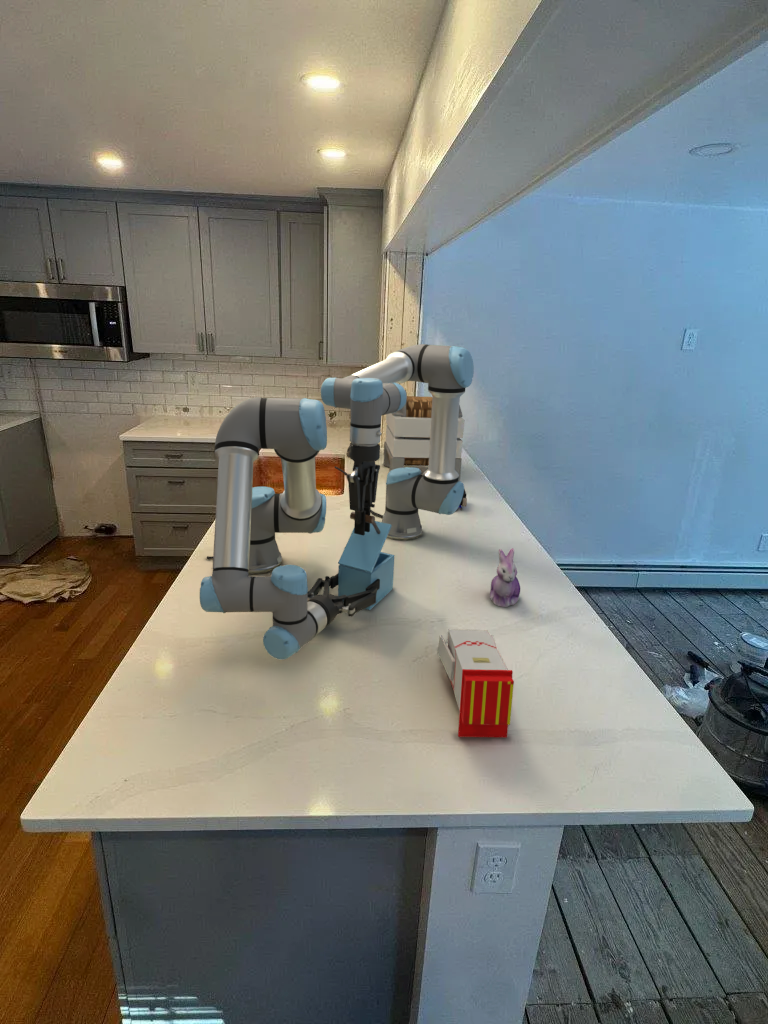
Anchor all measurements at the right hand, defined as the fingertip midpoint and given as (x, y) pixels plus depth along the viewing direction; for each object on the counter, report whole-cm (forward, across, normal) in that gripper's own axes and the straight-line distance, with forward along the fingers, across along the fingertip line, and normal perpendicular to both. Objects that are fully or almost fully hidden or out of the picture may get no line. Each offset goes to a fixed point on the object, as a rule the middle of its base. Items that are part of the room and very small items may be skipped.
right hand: (362, 532), depth 147 cm
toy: (+20, -22, -39) cm, 49 cm away
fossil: (+20, +142, +80) cm, 164 cm away
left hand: (+14, 0, 0) cm, 14 cm away
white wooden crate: (+20, +126, +37) cm, 132 cm away
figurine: (+20, +21, -34) cm, 45 cm away
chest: (+20, +4, 0) cm, 20 cm away
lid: (+4, +2, 0) cm, 5 cm away
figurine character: (+20, +89, +4) cm, 91 cm away
